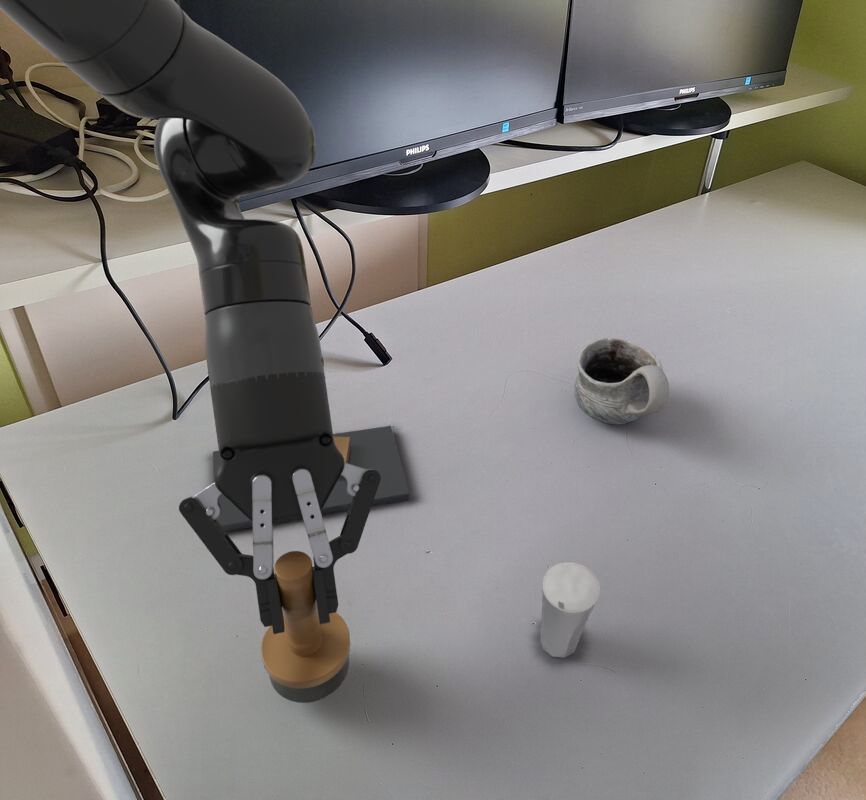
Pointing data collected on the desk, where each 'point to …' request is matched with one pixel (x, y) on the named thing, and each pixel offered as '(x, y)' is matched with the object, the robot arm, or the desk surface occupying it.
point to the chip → (343, 446)
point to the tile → (365, 452)
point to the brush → (304, 638)
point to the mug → (619, 381)
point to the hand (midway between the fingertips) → (302, 624)
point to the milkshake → (566, 606)
